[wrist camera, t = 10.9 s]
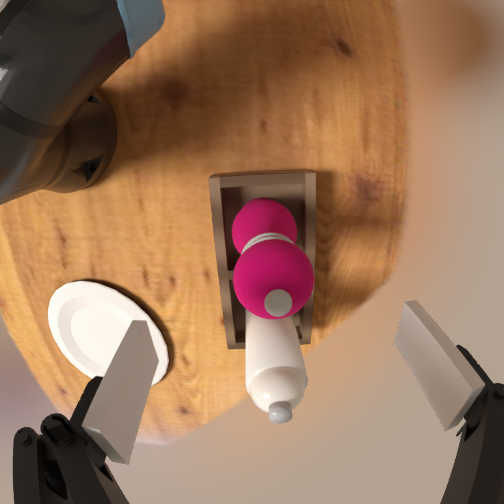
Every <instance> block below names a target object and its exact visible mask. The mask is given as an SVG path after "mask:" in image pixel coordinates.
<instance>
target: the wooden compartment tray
mask: <svg viewBox="0 0 504 504" xmlns="http://www.w3.org/2000/svg"><path fill="white" fill-rule="evenodd" d="M209 189H210V200H211V211H212V221H213V231H214V241H215V250H216V259H217V268H218V276H219V285H220V293H221V301H222V309H223V317H224V324H225V331H226V339H227V346H228V349H246V308H245V307H244V306H243V305H242V304H241V303H240V301H239V300H238V298H237V295H236V293H235V289H234V284H233V273H234V269H235V266H236V263H237V261H238V259H239V258H240V256H241V254H240V253H239V252H238V251H237V249H236V247H235V245H234V242H233V238H232V226H233V222H234V219H235V217H236V215H237V214H238V213H239V211H240V210H241V209H242V207H243V206H244V205H245V204H246V203H248V202H249V201H251V200H253V199H256V198H269V199H272V200H274V201H276V202H278V203H280V204H281V205H283V206H284V207H286V208H287V209H288V210H289V211H290V213H291V214H292V216H293V218H294V220H295V223H296V227H297V239H296V243H295V245H297V246H298V247H299V248H300V249H301V250H302V251H303V252H304V253H305V254H306V255H307V257H308V258H309V260H310V262H311V265H312V268H313V272H314V276H315V245H316V173H315V172H312V171H310V170H275V171H254V172H238V173H224V174H213V175H212V176H211V177H209ZM313 297H314V287H313V291H312V294H311V296H310V298H309V300H308V301H307V302H306V304H305V305H304V306H303V307H302V308H301V309H300V310H299V311H298V312H296V313H295V314H293V319H294V323H295V327H296V331H297V335H298V339H299V343H300V345H303V344H310V341H311V328H312V314H313Z"/></svg>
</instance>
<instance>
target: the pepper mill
mask: <svg viewBox="0 0 504 504" xmlns="http://www.w3.org/2000/svg"><path fill="white" fill-rule="evenodd" d="M232 238H233V242H234V245H235V247H236V249H237V251H238V252H239V253H240V254H241V256H240V258H239V259H238V261H237V263H236V266H235V269H234V273H233V284H234V289H235V293H236V295H237V298H238V300H239V301H240V303H241V304H242V305H243V306H244V307H245V308H246V309H247V310H248V311H249V312H251V313H252V314H254V315H256V316H258V317H261V318H264V319H271V320H273V319H282V318H286V317H289V316H291V315H293V314H295V313H296V312H298V311H299V310H300V309H301V308H302V307H303V306H304V305H305V304H306V302H307V301H308V300H309V298H310V296H311V294H312V291H313V287H314V272H313V268H312V265H311V262H310V260H309V258H308V257H307V255H306V254H305V253H304V252H303V251H302V250H301V249H300V248H299V247H298V246H297V245H295V243H296V239H297V227H296V223H295V220H294V218H293V216H292V214H291V213H290V211H289V210H288V209H287V208H286V207H284V206H283V205H281V204H280V203H278V202H276V201H274V200H272V199H269V198H256V199H253V200H251V201H249V202H248V203H246V204H245V205H244V206H243V207H242V209H241V210H240V211H239V213H238V214H237V215H236V217H235V219H234V222H233V226H232Z"/></svg>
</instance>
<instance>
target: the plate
mask: <svg viewBox="0 0 504 504" xmlns="http://www.w3.org/2000/svg"><path fill="white" fill-rule="evenodd" d="M48 318H49V326H50V329H51V332H52V334H53V337H54V339H55V341H56V343H57V344H58V346H59V348H60V349H61V351H62V352H63V354H64V355H65V356H66V357H67V358H68V359H69V361H70V362H71V363H72V364H73V365H74V366H76V367H77V368H78V369H79V370H80V371H81V372H83V373H84V374H86V375H87V376H89V377H91V378H92V379H93V378H94V377H95V376H101V377H104V375H105V373H106V371H107V369H108V367H109V365H110V363H111V361H112V359H113V357H114V355H115V353H116V351H117V349H118V347H119V345H120V343H121V341H122V339H123V337H124V335H125V334H126V332H127V330H128V328H129V326H130V324H131V322H132V320H146V321H147V324H148V328H149V331H150V334H151V337H152V341H153V344H154V347H155V350H156V353H157V356H158V359H159V363H158V366H157V369H156V372H155V375H154V378H153V381H152V385H151V386H153V385H154V384H156V383H158V382H159V381H160V380H161V379H162V377H163V376H164V375H165V373H166V370H167V366H168V362H169V357H168V349H167V345H166V343H165V340H164V338H163V336H162V333H161V331H160V330H159V328H158V327H157V326H156V324H155V323H154V322H153V320H152V319H151V317H150V316H149V315H148V314H147V313H146V312H145V311H144V310H143V309H142V308H141V307H139V306H138V305H137V304H136V303H135V302H134V301H133V300H131V299H130V298H128V297H126V296H125V295H123V294H122V293H120V292H119V291H117V290H115V289H113V288H110V287H108V286H105V285H103V284H100V283H97V282H89V281H82V280H81V281H76V282H70V283H67V284H65V285H63V286H62V287H60V288H59V289H57V290H56V292H55V293H54V295H53V296H52V298H51V299H50V303H49V308H48Z"/></svg>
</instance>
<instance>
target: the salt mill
mask: <svg viewBox="0 0 504 504" xmlns="http://www.w3.org/2000/svg"><path fill="white" fill-rule="evenodd" d="M307 382H308V378H307V374H306V369H305V365H304V360H303V356H302V352H301V348H300V343H299V339H298V335H297V331H296V327H295V323H294V319H293V315H291V316H289V317H286V318H282V319H273V320H271V319H264V318H261V317H258V316H256V315H254V314H252V313H251V312H249V311H248V310H247V309H246V389H247V392H248V393H249V394H250V395H251V397H252V399H253V401H254V403H255V404H256V405H257V406H258V407H259V408H260V409H262V410H263V411H265V412H267V413H269V419H270V421H271V422H273V423H277V424H279V423H285V422H288V421H290V420H291V418H292V410H293V409H294V408H295V407H296V406H297V405H298V404H299V403H300V402H301V400H302V398H303V396H304V392H305V388H306V386H307Z"/></svg>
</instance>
